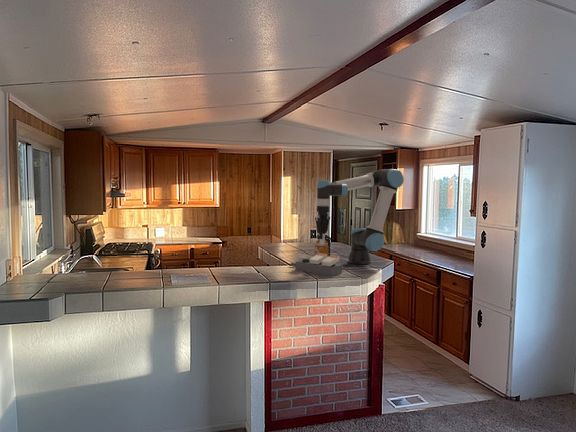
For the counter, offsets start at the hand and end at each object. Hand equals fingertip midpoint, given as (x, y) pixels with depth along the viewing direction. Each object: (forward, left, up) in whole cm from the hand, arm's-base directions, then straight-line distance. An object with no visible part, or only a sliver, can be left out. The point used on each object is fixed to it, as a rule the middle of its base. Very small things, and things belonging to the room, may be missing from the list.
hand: (322, 244), depth 272 cm
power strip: (+4, -4, -16) cm, 17 cm away
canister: (-13, -9, -17) cm, 23 cm away
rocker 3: (+3, +9, -10) cm, 14 cm away
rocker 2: (+3, 0, -10) cm, 10 cm away
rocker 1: (+4, -9, -10) cm, 14 cm away
